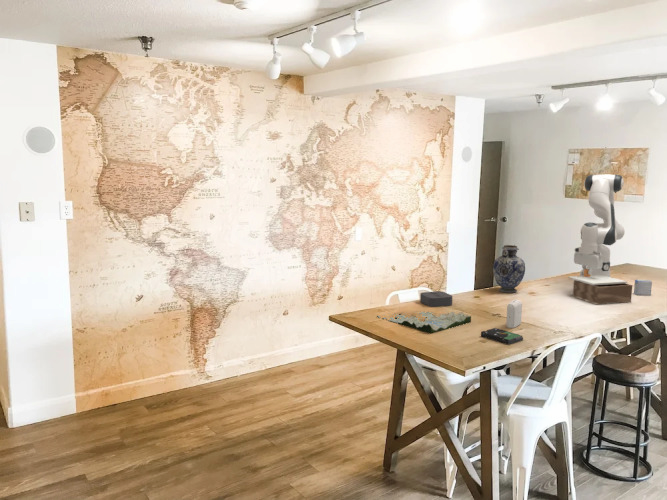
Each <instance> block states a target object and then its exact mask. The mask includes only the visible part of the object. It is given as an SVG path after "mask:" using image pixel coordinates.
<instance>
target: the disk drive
mask: <svg viewBox="0 0 667 500" xmlns="http://www.w3.org/2000/svg"><path fill="white" fill-rule="evenodd" d="M480 337H481V338H484V339H488V340H491V341H495V342H498V343H501V344H504V345H508V346H510V345H513V344H516V343H519V342H522V341H523V340H524V337H523V335H520V334H518V333H515V332H512V331H511V332H510V331H507V330H504V329H500V328H497V327H493V328H490V329H486V331H485V330H483V331H481V332H480Z"/></svg>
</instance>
